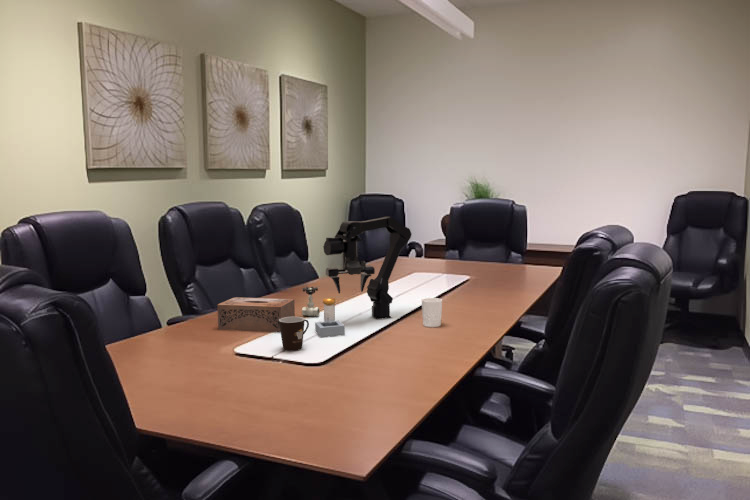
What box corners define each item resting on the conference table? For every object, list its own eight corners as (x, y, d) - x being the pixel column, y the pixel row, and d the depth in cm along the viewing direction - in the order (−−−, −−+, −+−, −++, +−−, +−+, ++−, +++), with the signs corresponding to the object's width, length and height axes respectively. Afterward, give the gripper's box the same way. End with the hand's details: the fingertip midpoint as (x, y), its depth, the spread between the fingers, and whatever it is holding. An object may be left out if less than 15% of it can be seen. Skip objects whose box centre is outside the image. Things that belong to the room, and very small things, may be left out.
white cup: (444, 323, 235) (444, 298, 234) (438, 328, 228) (438, 302, 227) (425, 322, 238) (425, 297, 237) (418, 326, 231) (418, 301, 230)
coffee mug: (284, 353, 198) (283, 323, 197) (276, 347, 206) (275, 318, 204) (317, 348, 203) (316, 319, 202) (308, 342, 211) (307, 314, 210)
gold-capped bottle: (331, 331, 226) (330, 297, 225) (338, 333, 223) (337, 298, 221) (321, 333, 224) (320, 298, 222) (328, 335, 220) (327, 300, 218)
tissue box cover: (295, 323, 240) (294, 299, 239) (281, 333, 226) (280, 306, 225) (235, 321, 246) (234, 297, 244) (218, 330, 232) (217, 304, 230)
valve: (316, 318, 247) (315, 289, 246) (300, 318, 249) (300, 289, 247) (320, 315, 254) (320, 286, 252) (305, 314, 255) (305, 286, 254)
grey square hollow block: (338, 329, 229) (338, 320, 228) (344, 335, 220) (344, 325, 220) (315, 331, 226) (315, 322, 226) (320, 337, 218) (320, 327, 217)
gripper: (331, 257, 226) (332, 297, 228) (378, 254, 232) (379, 294, 234) (324, 253, 237) (325, 292, 239) (370, 251, 242) (370, 289, 244)
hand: (350, 292), depth 239 cm, fingers open, 9 cm apart
